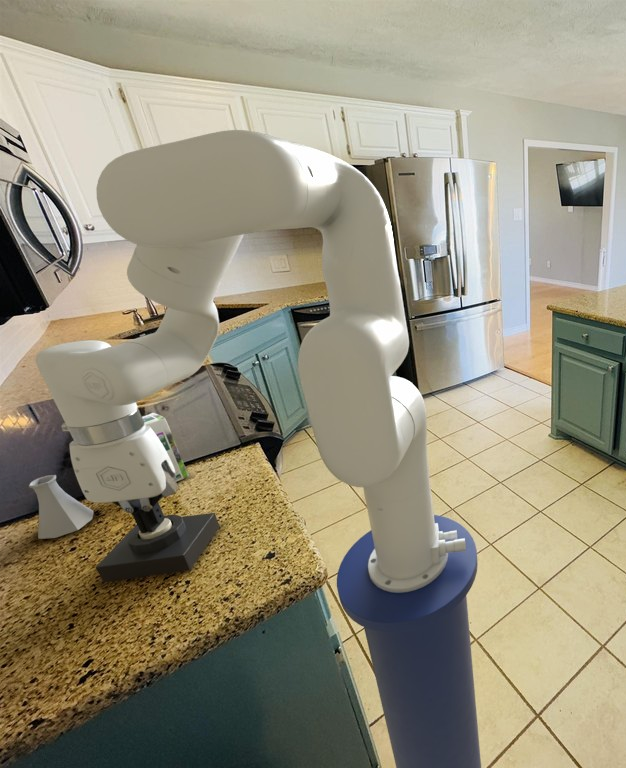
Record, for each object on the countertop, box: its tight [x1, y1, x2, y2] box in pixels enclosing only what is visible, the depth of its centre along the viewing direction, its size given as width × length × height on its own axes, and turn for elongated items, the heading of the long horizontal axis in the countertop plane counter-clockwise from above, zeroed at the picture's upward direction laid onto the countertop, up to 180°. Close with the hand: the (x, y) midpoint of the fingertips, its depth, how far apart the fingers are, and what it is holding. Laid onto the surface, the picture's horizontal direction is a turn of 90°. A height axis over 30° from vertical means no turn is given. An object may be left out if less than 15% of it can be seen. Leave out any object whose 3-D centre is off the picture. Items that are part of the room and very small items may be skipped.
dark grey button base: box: [95, 512, 220, 583], centre depth 67 cm, size 12×10×5 cm
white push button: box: [139, 518, 172, 540], centre depth 66 cm, size 4×4×2 cm
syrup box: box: [142, 412, 189, 483], centre depth 84 cm, size 6×6×14 cm
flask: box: [28, 474, 94, 540], centre depth 72 cm, size 7×7×10 cm
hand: (153, 526), depth 66 cm, fingers closed
